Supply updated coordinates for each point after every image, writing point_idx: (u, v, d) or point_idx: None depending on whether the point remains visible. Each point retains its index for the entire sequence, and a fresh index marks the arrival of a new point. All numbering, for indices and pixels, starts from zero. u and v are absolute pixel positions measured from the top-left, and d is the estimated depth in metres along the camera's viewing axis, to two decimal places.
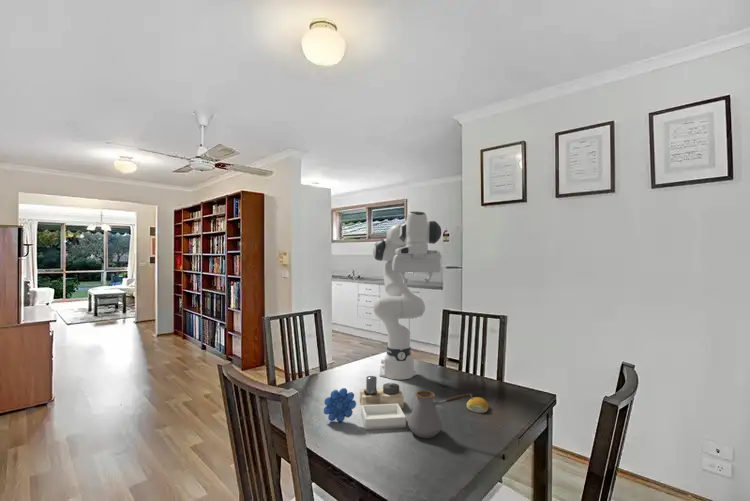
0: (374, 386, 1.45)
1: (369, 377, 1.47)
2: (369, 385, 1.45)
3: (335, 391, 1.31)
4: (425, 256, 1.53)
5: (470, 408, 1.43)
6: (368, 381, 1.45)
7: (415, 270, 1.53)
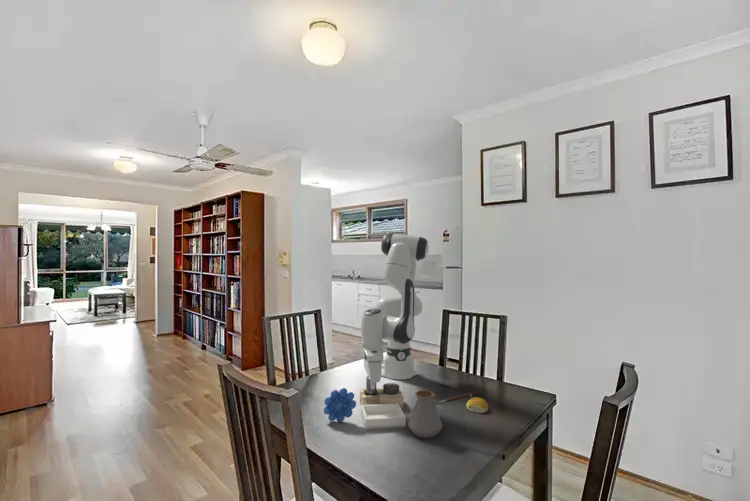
0: None
1: None
2: (369, 385, 1.45)
3: (335, 391, 1.31)
4: None
5: (470, 408, 1.42)
6: (368, 381, 1.45)
7: None
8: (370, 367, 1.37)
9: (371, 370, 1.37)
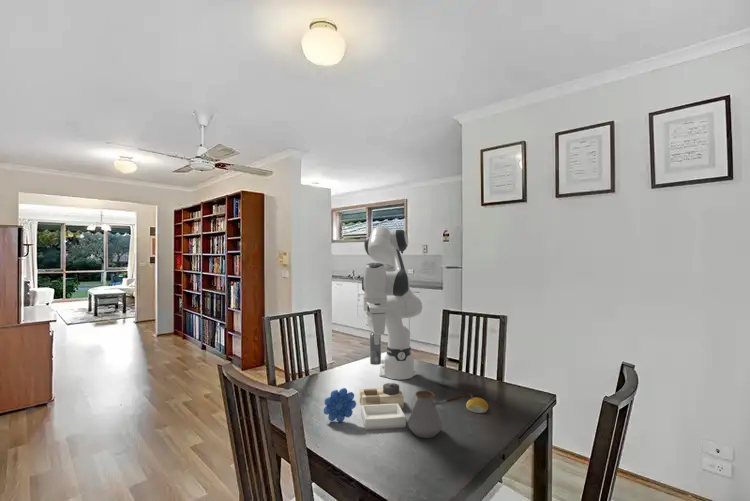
0: None
1: (373, 333, 1.40)
2: (373, 341, 1.38)
3: (335, 391, 1.31)
4: None
5: (469, 408, 1.42)
6: (372, 337, 1.38)
7: None
8: (373, 319, 1.31)
9: (374, 322, 1.30)
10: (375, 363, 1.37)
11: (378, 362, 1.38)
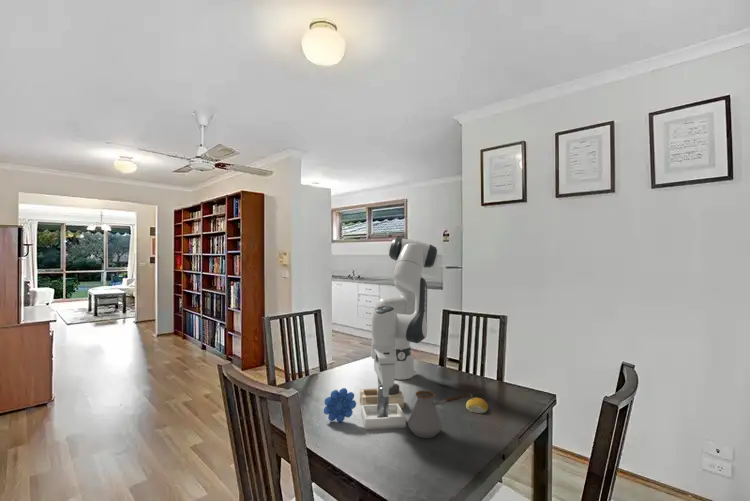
0: (386, 397, 1.32)
1: (381, 387, 1.33)
2: (381, 396, 1.31)
3: (335, 391, 1.31)
4: None
5: (469, 408, 1.42)
6: (380, 391, 1.32)
7: None
8: (382, 370, 1.24)
9: (383, 374, 1.23)
10: None
11: None
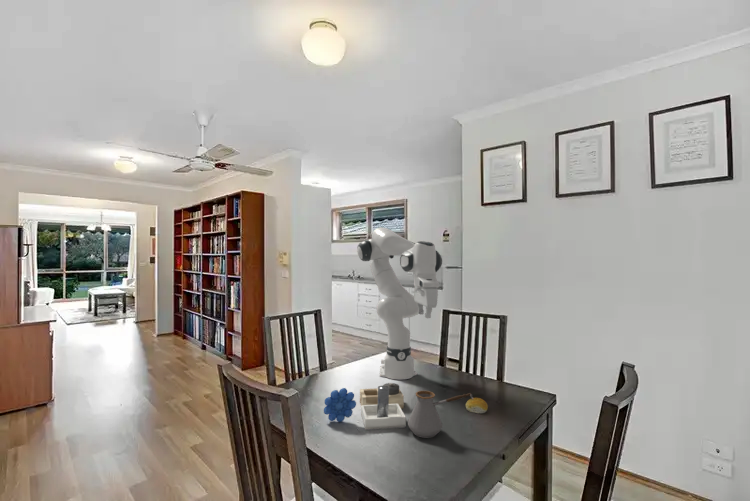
0: (386, 397, 1.32)
1: (381, 387, 1.33)
2: (381, 396, 1.31)
3: (335, 391, 1.31)
4: None
5: (469, 409, 1.42)
6: (380, 391, 1.32)
7: None
8: (427, 293, 1.40)
9: (428, 295, 1.40)
10: None
11: None
